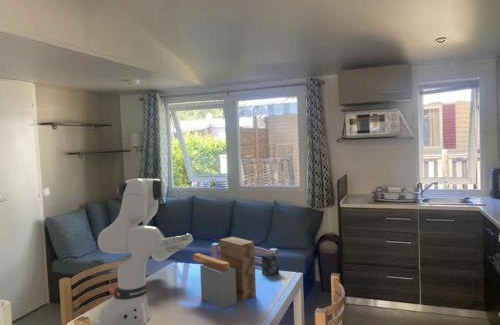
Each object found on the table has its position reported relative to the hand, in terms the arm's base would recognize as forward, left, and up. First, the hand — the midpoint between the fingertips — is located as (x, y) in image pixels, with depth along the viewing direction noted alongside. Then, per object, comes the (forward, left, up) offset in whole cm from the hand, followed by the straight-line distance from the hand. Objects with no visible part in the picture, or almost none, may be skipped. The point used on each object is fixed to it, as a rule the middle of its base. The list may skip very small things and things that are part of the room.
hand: (180, 236), depth 201 cm
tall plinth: (+12, -31, -25) cm, 42 cm away
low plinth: (0, -31, -25) cm, 40 cm away
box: (+44, -21, -26) cm, 55 cm away
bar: (0, -25, -9) cm, 27 cm away
